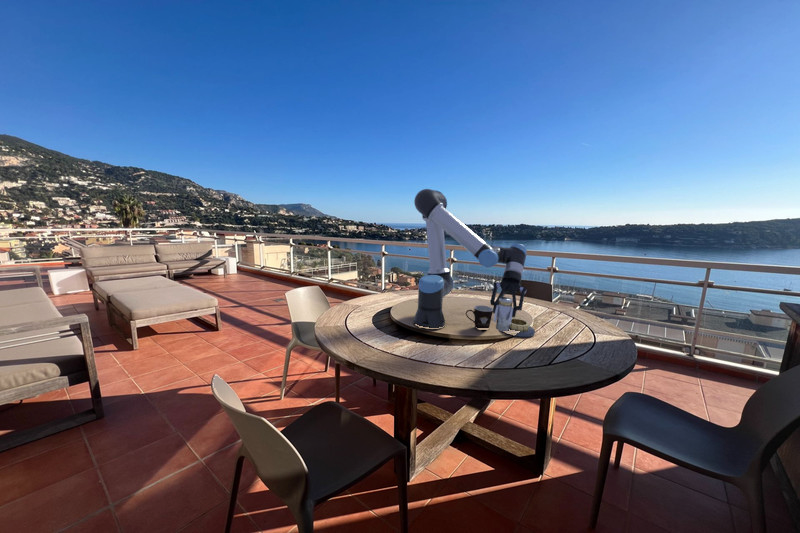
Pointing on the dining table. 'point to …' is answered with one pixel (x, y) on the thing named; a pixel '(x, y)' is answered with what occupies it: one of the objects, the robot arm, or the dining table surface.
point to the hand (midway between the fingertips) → (501, 321)
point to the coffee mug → (482, 316)
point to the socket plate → (527, 334)
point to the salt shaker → (503, 313)
